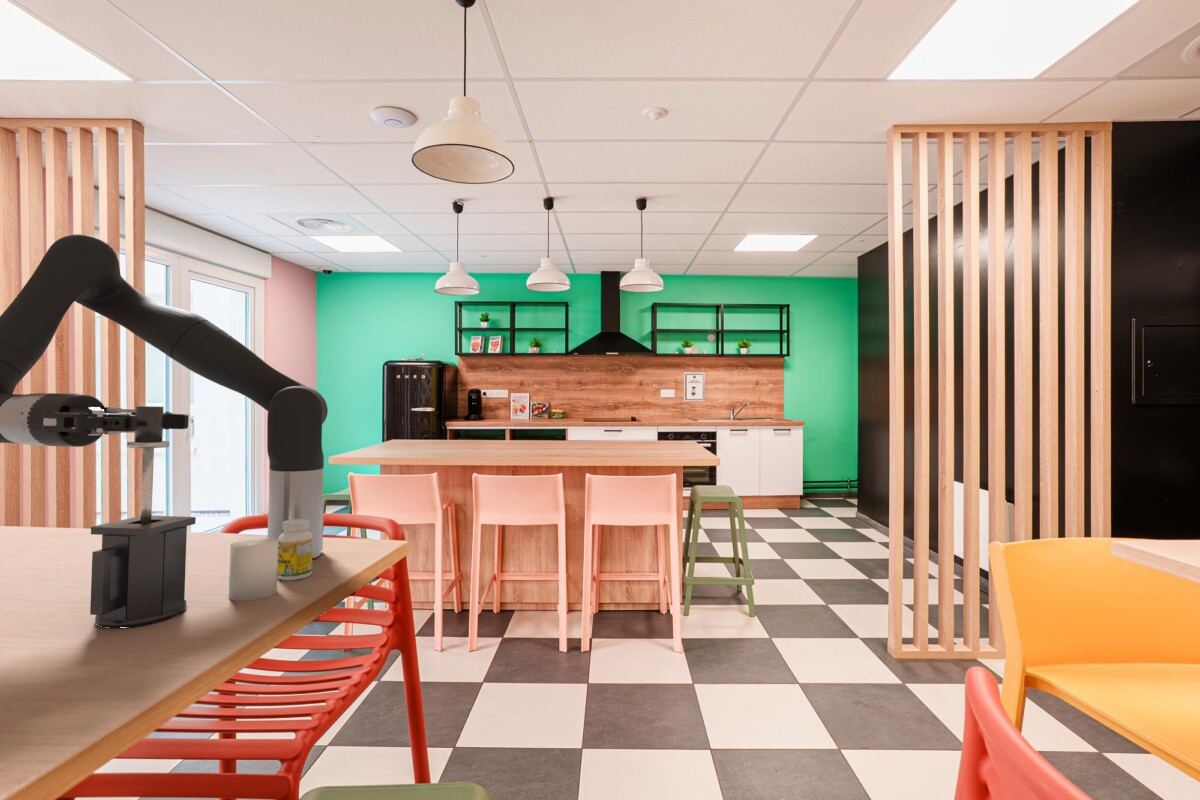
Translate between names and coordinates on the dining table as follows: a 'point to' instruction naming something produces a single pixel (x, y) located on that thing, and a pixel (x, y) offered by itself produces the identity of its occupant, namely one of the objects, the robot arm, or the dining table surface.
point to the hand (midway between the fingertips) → (162, 422)
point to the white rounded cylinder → (253, 569)
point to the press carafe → (139, 571)
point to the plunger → (148, 451)
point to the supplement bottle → (295, 550)
